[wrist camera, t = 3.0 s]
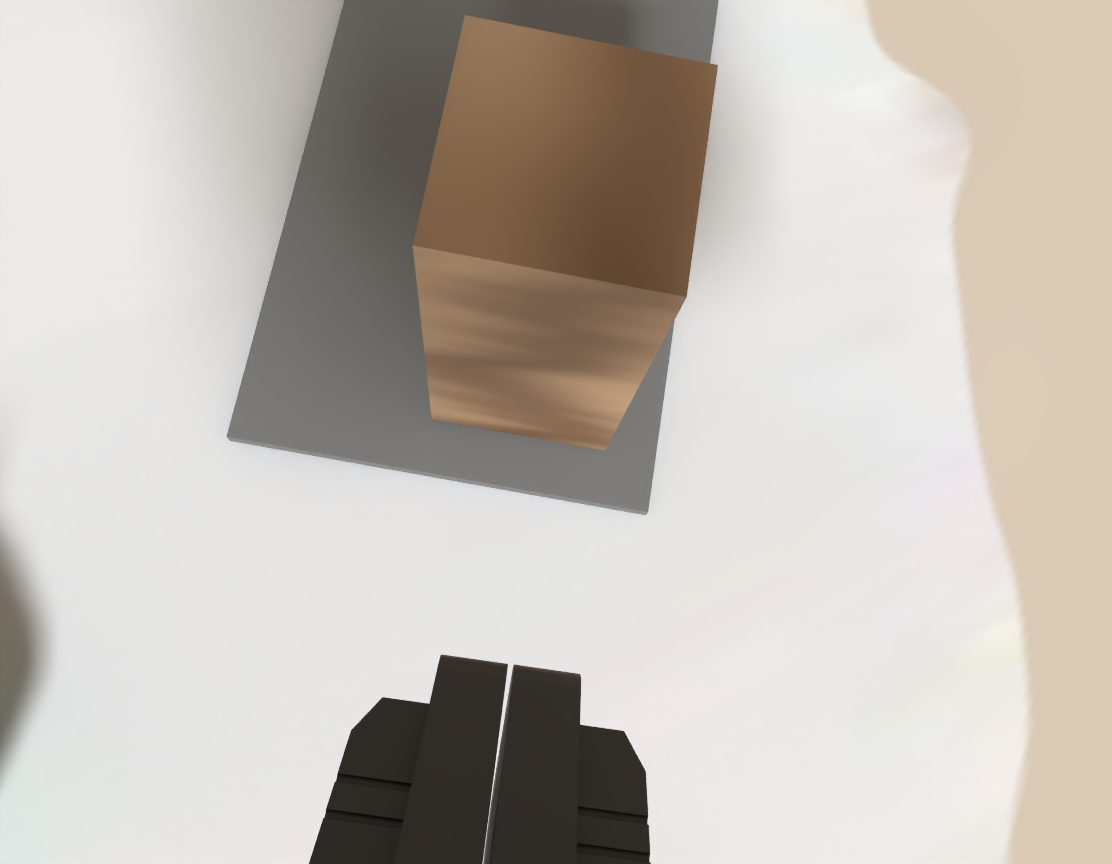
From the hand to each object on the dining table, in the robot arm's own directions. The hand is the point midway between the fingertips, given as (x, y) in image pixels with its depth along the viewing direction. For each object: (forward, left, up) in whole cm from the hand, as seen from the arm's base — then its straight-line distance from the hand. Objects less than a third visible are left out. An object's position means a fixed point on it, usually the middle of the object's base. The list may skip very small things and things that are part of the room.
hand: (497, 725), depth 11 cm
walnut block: (0, +10, -16) cm, 19 cm away
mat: (-2, +15, -16) cm, 23 cm away
